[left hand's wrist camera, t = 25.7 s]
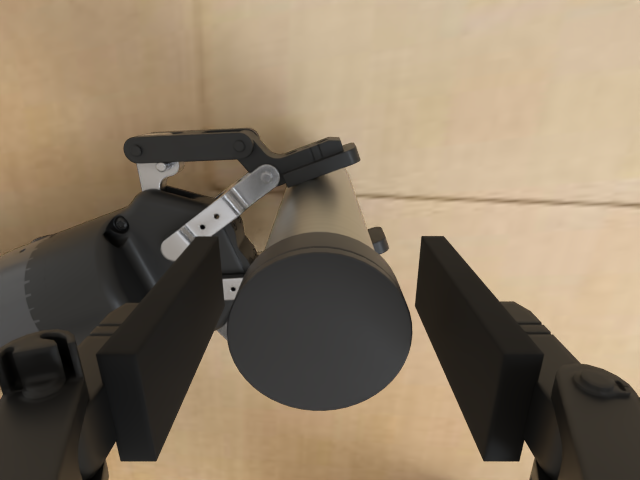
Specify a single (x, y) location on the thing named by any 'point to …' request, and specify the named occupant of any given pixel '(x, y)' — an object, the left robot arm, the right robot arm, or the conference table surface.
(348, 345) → the lid
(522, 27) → the conference table surface
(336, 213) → the jar
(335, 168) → the right robot arm
